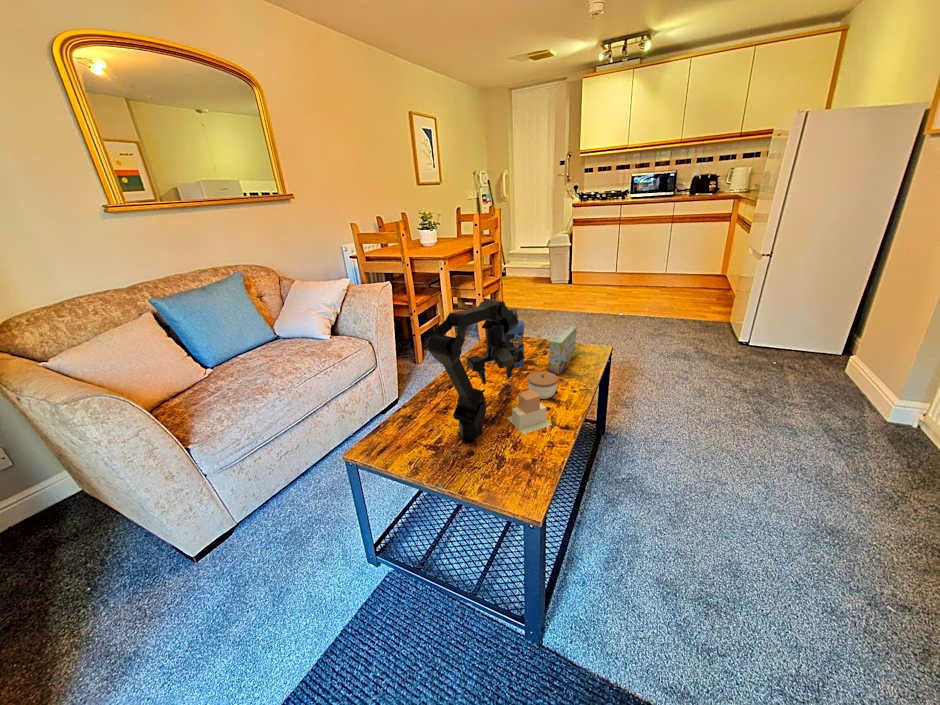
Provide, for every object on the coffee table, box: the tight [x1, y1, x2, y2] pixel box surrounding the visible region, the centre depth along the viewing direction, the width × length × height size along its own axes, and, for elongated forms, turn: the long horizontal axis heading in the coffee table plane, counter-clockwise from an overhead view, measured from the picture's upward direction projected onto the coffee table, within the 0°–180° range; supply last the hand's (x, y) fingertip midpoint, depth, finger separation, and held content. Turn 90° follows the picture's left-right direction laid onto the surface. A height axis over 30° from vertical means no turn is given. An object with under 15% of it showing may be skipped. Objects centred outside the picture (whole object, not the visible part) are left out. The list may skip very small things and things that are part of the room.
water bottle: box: [504, 308, 525, 369], centre depth 169 cm, size 9×9×25 cm
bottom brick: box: [511, 402, 547, 429], centre depth 129 cm, size 10×5×5 cm, turn 114°
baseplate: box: [506, 415, 553, 435], centre depth 130 cm, size 11×11×1 cm
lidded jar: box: [527, 370, 559, 400], centre depth 145 cm, size 11×11×9 cm
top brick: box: [517, 389, 541, 414], centre depth 127 cm, size 5×5×5 cm
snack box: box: [547, 324, 578, 377], centre depth 167 cm, size 21×6×15 cm, turn 150°
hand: (496, 381), depth 133 cm, fingers open, 9 cm apart
